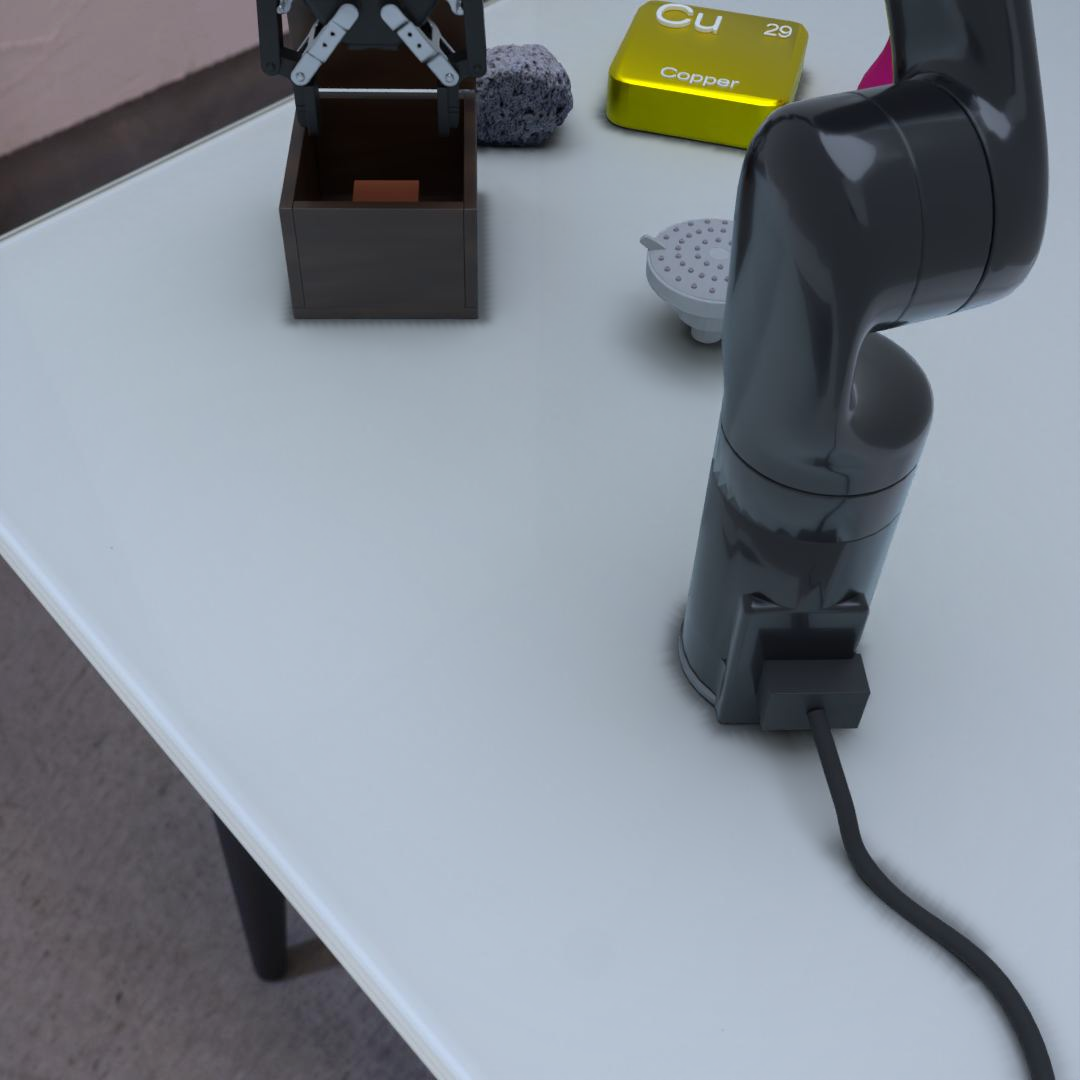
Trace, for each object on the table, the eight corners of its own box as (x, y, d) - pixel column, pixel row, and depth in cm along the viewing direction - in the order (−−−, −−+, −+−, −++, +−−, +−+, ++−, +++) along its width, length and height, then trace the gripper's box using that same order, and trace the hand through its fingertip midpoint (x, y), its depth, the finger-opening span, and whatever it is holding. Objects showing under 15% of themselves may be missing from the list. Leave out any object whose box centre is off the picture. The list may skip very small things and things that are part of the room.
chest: (478, 318, 92) (477, 209, 85) (293, 318, 91) (278, 208, 84) (477, 198, 101) (476, 92, 95) (311, 197, 101) (298, 90, 94)
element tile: (599, 125, 109) (603, 71, 106) (639, 42, 119) (643, -10, 115) (778, 156, 107) (788, 102, 103) (803, 68, 116) (813, 16, 113)
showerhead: (650, 195, 90) (797, 216, 88) (641, 282, 95) (779, 302, 94) (629, 277, 83) (786, 300, 82) (620, 365, 89) (768, 387, 88)
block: (420, 272, 93) (417, 217, 90) (355, 272, 93) (350, 217, 90) (421, 234, 97) (419, 180, 93) (358, 234, 96) (354, 179, 93)
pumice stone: (481, 117, 114) (433, 142, 106) (489, 24, 110) (439, 42, 102) (593, 141, 111) (552, 168, 103) (605, 46, 107) (563, 67, 99)
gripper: (229, -99, 73) (267, 160, 85) (486, -96, 73) (487, 161, 85) (245, -151, 78) (278, 100, 90) (485, -148, 78) (486, 102, 90)
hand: (380, 130), depth 88 cm, fingers open, 8 cm apart
